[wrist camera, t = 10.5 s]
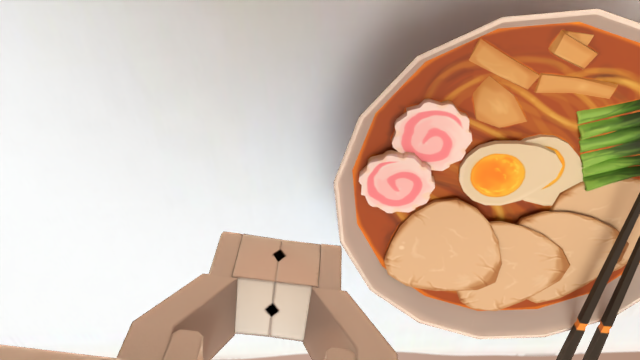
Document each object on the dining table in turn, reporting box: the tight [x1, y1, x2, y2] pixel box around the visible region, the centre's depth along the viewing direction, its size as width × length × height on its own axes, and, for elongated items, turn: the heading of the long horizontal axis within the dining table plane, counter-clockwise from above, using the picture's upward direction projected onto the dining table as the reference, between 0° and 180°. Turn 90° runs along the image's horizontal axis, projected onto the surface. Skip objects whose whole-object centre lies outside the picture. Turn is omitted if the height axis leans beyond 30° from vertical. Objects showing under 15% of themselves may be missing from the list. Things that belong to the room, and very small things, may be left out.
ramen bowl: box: [334, 9, 640, 360], centre depth 35 cm, size 25×23×8 cm
